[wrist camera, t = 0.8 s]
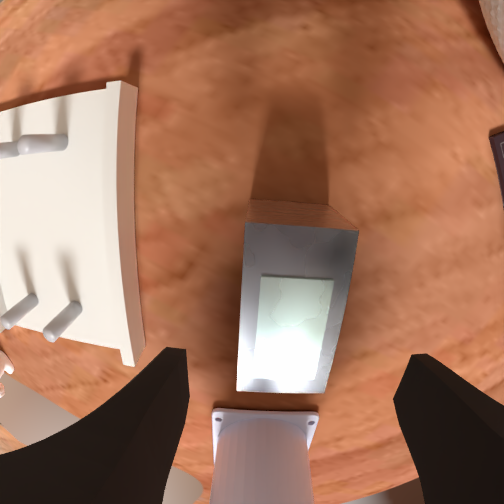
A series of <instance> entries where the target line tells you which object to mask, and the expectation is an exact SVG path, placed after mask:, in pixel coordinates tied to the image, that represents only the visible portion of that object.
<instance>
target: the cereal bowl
mask: <svg viewBox="0 0 504 504" xmlns="http://www.w3.org/2000/svg"><path fill="white" fill-rule="evenodd" d="M479 4H480V6H481V10H482V14H483V17H484V19H485V22H486V25H487V28H488V30H489V32H490V35H491V38H492V40H493V43H494V44H495V46H496V50H497V51H498V54H499V56H500V57H501V59H502V61H503V63H504V0H479Z"/></svg>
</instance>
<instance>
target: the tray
mask: <svg viewBox="0 0 504 504" xmlns="http://www.w3.org/2000/svg"><path fill="white" fill-rule="evenodd" d="M137 96H138V88H137V87H135V86H133V85H130V84H128V83H126V82H124V81H121V80H120V81H112V82H107V84H106V89H101V90H94V91H88V92H82V93H76V94H71V95H66V96H61V97H56V98H51V99H47V100H42V101H38V102H34V103H30V104H26V105H22V106H19V107H15V108H12V109H8V110H5V111H2V112H0V333H1V332H2V331H4V330H5V329H8V330H9V329H11V328H12V327H13V326H14V325H17V326H20V327H24V328H28V329H31V330H35V331H39V332H43V335H44V337H45V338H46V339H47V340H48V341H50V342H55V341H56V340H57V339H58V337H63V338H67V339H72V340H76V341H81V342H85V343H90V344H95V345H100V346H105V347H111V348H116V349H120V352H121V356H122V361H123V365H128V366H133V367H135V366H136V364H137V362H138V360H139V358H140V356H141V354H142V352H143V350H144V348H145V347H146V344H145V337H144V329H143V321H142V313H141V304H140V294H139V283H138V271H137V257H136V240H135V214H134V152H135V126H136V110H137Z"/></svg>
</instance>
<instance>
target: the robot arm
mask: <svg viewBox="0 0 504 504" xmlns="http://www.w3.org/2000/svg"><path fill="white" fill-rule="evenodd" d="M189 398H190V394H189V383H188V370H187V357H186V349H179V348H171V347H166V348H165V349H163V350H162V351H161V352H160V353H159V354H158V355H157V356H156V357H155V358H154V359H153V360H152V361H151V362H150V363H149V364H148V365H147V366H146V367H145V368H144V369H143V370H142V371H141V372H140V373H139V374H138V375H137V376H136V377H134V378H133V379H132V380H131V381H130V382H129V383H128V384H127V385H126V386H125V387H123V388H122V389H121V390H120V391H119V392H117V393H116V394H115V395H114V396H112V397H111V398H110V399H109V400H107V401H106V402H105V403H104V404H102V405H101V406H100V407H98V408H97V409H96V410H94V411H93V412H91V413H90V414H88V415H87V416H85V417H84V418H82V419H81V420H79V421H78V422H76V423H74V424H73V425H71V426H69V427H67V428H66V429H63V430H62V431H60V432H58V433H56V434H54V435H52V436H50V437H48V438H46V439H44V440H41V441H39V442H36V443H34V444H31V445H29V446H26V447H24V448H21V449H18V450H15V451H12V452H8V453H5V454H1V455H0V504H162V501H163V496H164V490H165V486H166V482H167V479H168V475H169V472H170V469H171V466H172V463H173V460H174V456H175V453H176V450H177V447H178V444H179V441H180V437H181V434H182V431H183V428H184V425H185V420H186V415H187V409H188V403H189ZM393 400H394V405H395V409H396V414H397V418H398V421H399V425H400V427H401V430H402V433H403V435H404V438H405V440H406V443H407V446H408V448H409V451H410V453H411V456H412V459H413V461H414V464H415V466H416V469H417V472H418V475H419V478H420V482H421V486H422V491H423V496H424V501H425V504H504V405H502V404H500V403H499V402H497V401H495V400H494V399H492V398H491V397H489V396H488V395H486V394H484V393H483V392H481V391H480V390H478V389H477V388H476V387H474V386H473V385H471V384H470V383H469V382H467V381H466V380H464V379H463V378H462V377H460V376H459V375H457V374H456V373H455V372H453V371H452V370H450V369H449V368H448V367H446V366H445V365H443V364H442V363H441V362H439V361H438V360H436V359H435V358H433V357H431V356H430V355H428V354H414V355H411V358H410V360H409V363H408V365H407V368H406V370H405V373H404V375H403V377H402V380H401V382H400V384H399V387H398V389H397V391H396V394H395V396H394V398H393ZM218 417H219V418H218ZM318 420H319V414H318V413H317V412H281V411H254V410H238V409H225V408H215V409H213V411H212V433H213V454H214V472H213V480H212V487H211V495H210V502H209V504H314V496H313V488H312V479H311V471H310V463H309V455H308V450H309V447H310V444H311V441H312V438H313V435H314V432H315V429H316V426H317V423H318Z"/></svg>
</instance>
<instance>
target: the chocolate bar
mask: <svg viewBox="0 0 504 504" xmlns="http://www.w3.org/2000/svg"><path fill="white" fill-rule="evenodd" d="M489 140H490V144H491V148H492V152H493V156H494V160H495V165H496V169H497V174H498V179H499V184H500V190H501V195H502V202H503V208H504V131H503V132H500V133H498V134H495V135H493V136H490V137H489Z"/></svg>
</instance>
